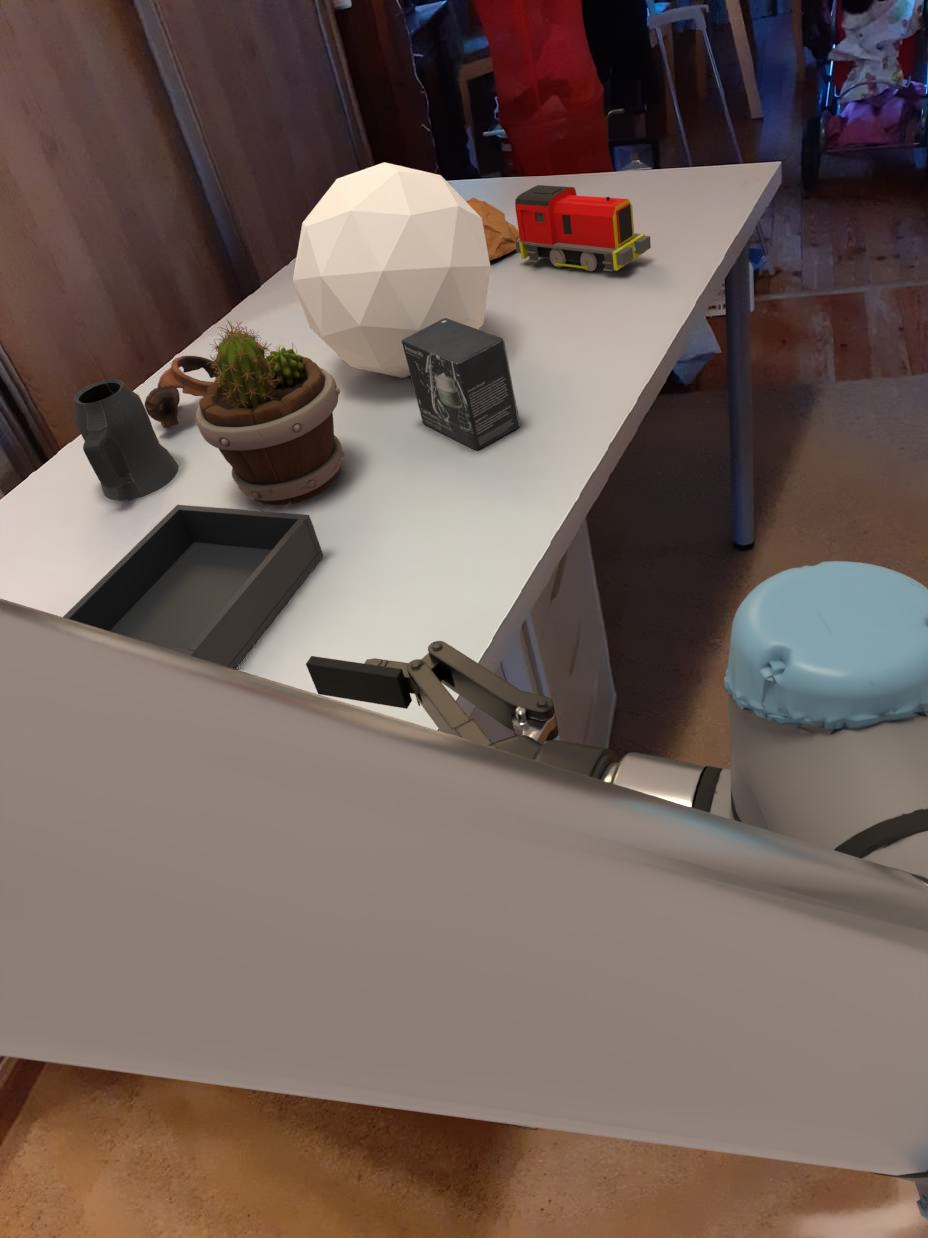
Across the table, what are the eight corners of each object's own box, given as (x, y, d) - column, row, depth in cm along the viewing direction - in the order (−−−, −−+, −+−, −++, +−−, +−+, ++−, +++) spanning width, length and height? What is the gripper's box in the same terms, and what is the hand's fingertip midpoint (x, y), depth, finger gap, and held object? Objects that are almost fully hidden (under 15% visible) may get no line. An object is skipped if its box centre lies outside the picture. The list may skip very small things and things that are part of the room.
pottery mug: (183, 400, 124) (193, 344, 119) (239, 433, 123) (252, 378, 118) (120, 423, 114) (128, 363, 110) (180, 460, 113) (192, 401, 108)
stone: (516, 244, 152) (529, 187, 144) (514, 299, 143) (529, 242, 135) (427, 228, 150) (436, 169, 142) (420, 282, 142) (429, 223, 134)
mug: (115, 464, 112) (73, 380, 105) (186, 452, 111) (148, 365, 104) (85, 519, 103) (36, 431, 96) (161, 506, 102) (118, 416, 94)
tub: (211, 700, 75) (189, 657, 72) (70, 674, 81) (44, 634, 78) (323, 555, 88) (309, 514, 85) (195, 543, 94) (177, 504, 91)
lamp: (291, 393, 104) (261, 154, 96) (339, 371, 137) (320, 191, 129) (496, 379, 102) (483, 136, 95) (495, 360, 136) (485, 179, 128)
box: (419, 425, 105) (398, 338, 98) (464, 401, 107) (447, 315, 101) (476, 453, 98) (457, 362, 91) (523, 426, 100) (507, 335, 93)
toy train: (546, 249, 141) (537, 180, 134) (652, 261, 129) (648, 186, 123) (518, 266, 137) (507, 196, 131) (623, 280, 126) (618, 204, 119)
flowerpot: (244, 456, 107) (178, 288, 94) (371, 438, 104) (320, 263, 92) (211, 528, 96) (131, 349, 83) (352, 510, 93) (292, 322, 81)
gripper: (541, 1109, 40) (160, 979, 48) (668, 700, 56) (368, 657, 65) (514, 1027, 35) (97, 899, 44) (662, 607, 52) (339, 574, 60)
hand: (259, 754), depth 54 cm, fingers open, 13 cm apart
